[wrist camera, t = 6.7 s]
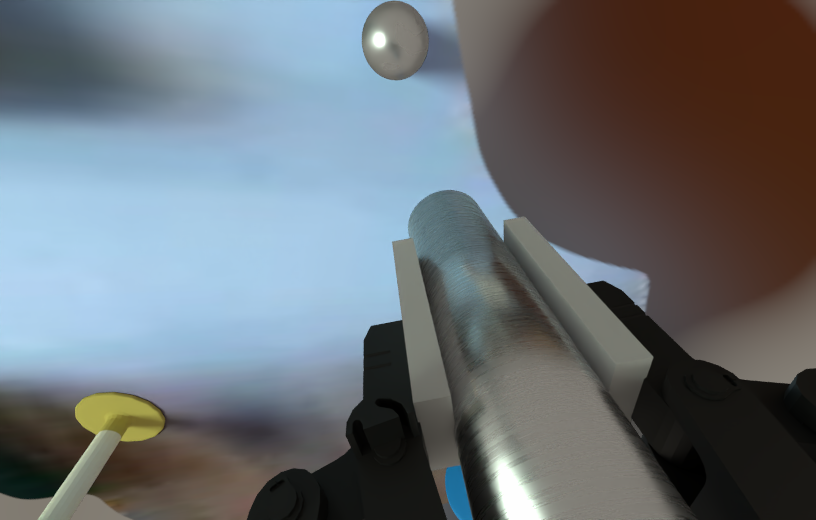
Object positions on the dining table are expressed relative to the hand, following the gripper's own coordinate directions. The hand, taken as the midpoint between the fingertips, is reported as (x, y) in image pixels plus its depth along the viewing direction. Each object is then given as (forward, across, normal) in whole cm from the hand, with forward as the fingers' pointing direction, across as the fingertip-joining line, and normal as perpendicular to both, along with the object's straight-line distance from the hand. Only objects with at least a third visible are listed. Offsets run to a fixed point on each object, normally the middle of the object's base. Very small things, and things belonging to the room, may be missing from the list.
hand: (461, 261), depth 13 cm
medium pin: (+19, 0, +7) cm, 21 cm away
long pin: (+3, 0, 0) cm, 3 cm away
